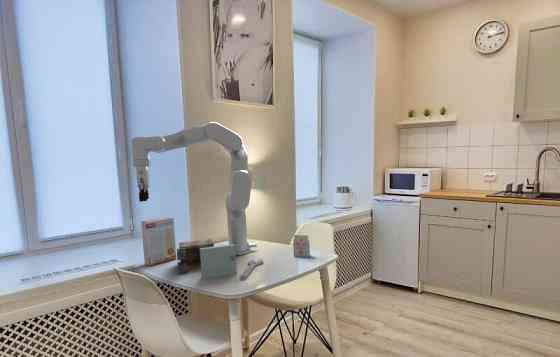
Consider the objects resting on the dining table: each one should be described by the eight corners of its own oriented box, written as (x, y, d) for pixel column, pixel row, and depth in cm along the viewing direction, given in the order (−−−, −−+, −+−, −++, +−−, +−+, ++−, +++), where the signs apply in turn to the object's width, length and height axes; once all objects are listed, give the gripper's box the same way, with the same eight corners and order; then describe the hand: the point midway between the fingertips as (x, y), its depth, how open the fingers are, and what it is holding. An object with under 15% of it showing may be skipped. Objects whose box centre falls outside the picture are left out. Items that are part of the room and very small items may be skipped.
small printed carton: (297, 254, 167) (296, 234, 167) (309, 255, 164) (309, 234, 164) (293, 256, 164) (293, 235, 163) (306, 257, 161) (306, 236, 160)
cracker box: (171, 257, 172) (168, 216, 171) (177, 259, 168) (174, 217, 167) (143, 264, 162) (140, 220, 161) (149, 266, 158) (146, 221, 157)
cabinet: (212, 259, 164) (211, 239, 164) (216, 269, 149) (215, 246, 148) (177, 264, 160) (176, 243, 159) (178, 274, 144) (176, 251, 144)
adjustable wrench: (245, 281, 133) (245, 277, 133) (230, 281, 135) (229, 276, 135) (264, 262, 157) (264, 258, 157) (251, 262, 159) (251, 258, 159)
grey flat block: (235, 272, 144) (234, 244, 143) (237, 274, 140) (235, 246, 140) (201, 277, 140) (199, 248, 139) (202, 279, 136) (200, 250, 136)
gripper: (148, 163, 152) (151, 201, 153) (151, 163, 169) (154, 198, 170) (130, 164, 150) (133, 202, 151) (135, 164, 167) (137, 199, 168)
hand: (144, 200), depth 160 cm, fingers open, 9 cm apart
